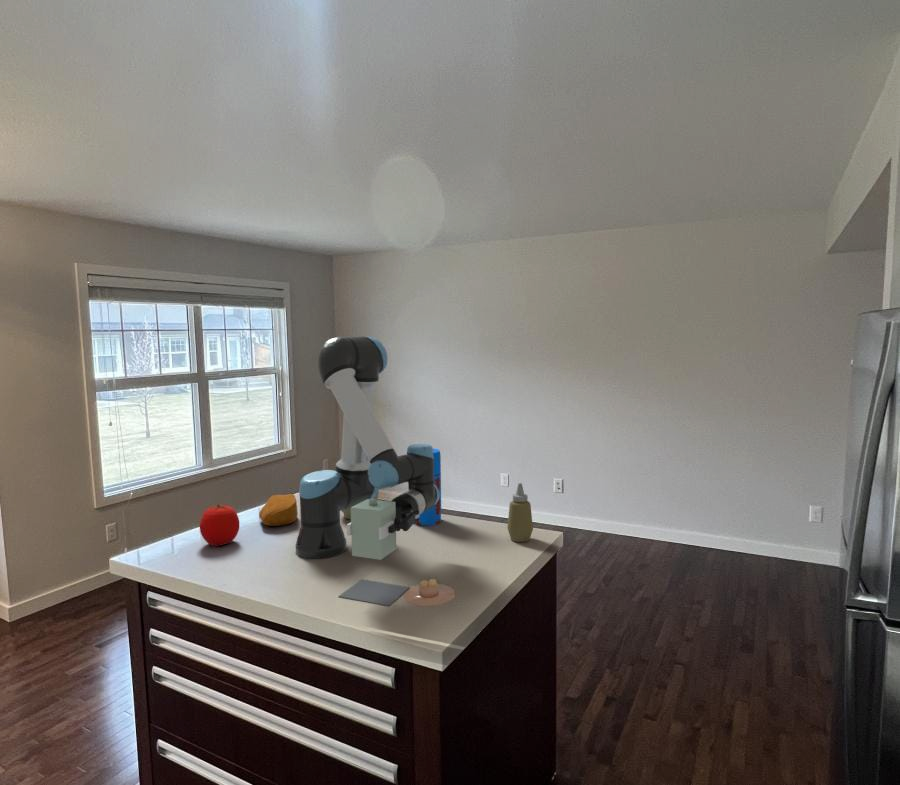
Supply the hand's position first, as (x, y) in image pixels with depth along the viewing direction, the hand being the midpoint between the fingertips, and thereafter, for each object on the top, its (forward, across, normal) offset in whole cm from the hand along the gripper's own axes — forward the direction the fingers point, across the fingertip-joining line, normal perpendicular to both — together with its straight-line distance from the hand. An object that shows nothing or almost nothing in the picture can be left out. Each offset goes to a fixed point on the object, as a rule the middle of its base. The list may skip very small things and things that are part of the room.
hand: (364, 532), depth 139 cm
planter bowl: (-61, +39, -17) cm, 75 cm away
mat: (-5, 0, -18) cm, 18 cm away
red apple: (-20, +64, -17) cm, 70 cm away
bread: (-45, +62, -17) cm, 79 cm away
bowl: (-9, -13, -18) cm, 23 cm away
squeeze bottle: (-57, -23, -18) cm, 64 cm away
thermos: (-64, +13, -18) cm, 68 cm away
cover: (-5, 0, -7) cm, 8 cm away
